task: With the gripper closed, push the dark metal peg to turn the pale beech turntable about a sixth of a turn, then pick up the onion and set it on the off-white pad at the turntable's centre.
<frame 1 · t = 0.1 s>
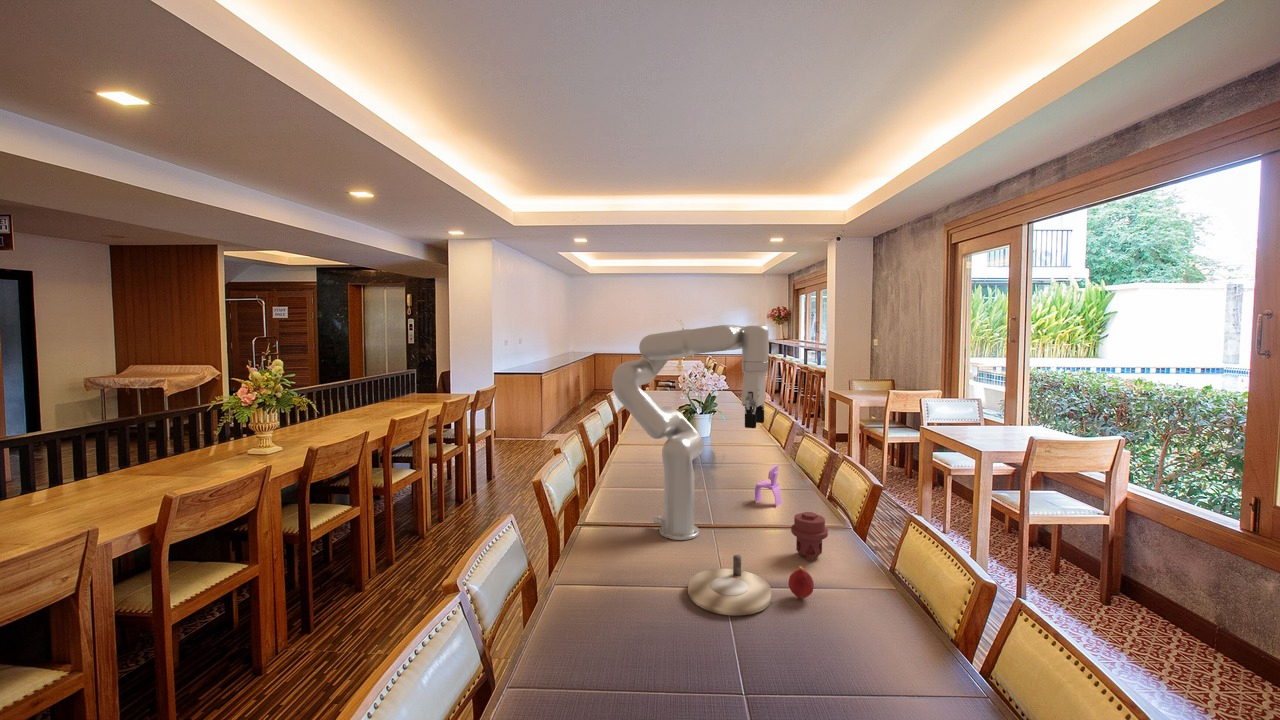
hand: (754, 425, 157), 37 cm above the table, tool pointing down, fingers open, 9 cm apart
turntable: (729, 580, 130), point 4 cm above the table, hinge at 0.0°
toy chair: (768, 503, 199), on the table
onion: (800, 599, 128), on the table
mechanical component: (808, 556, 152), on the table
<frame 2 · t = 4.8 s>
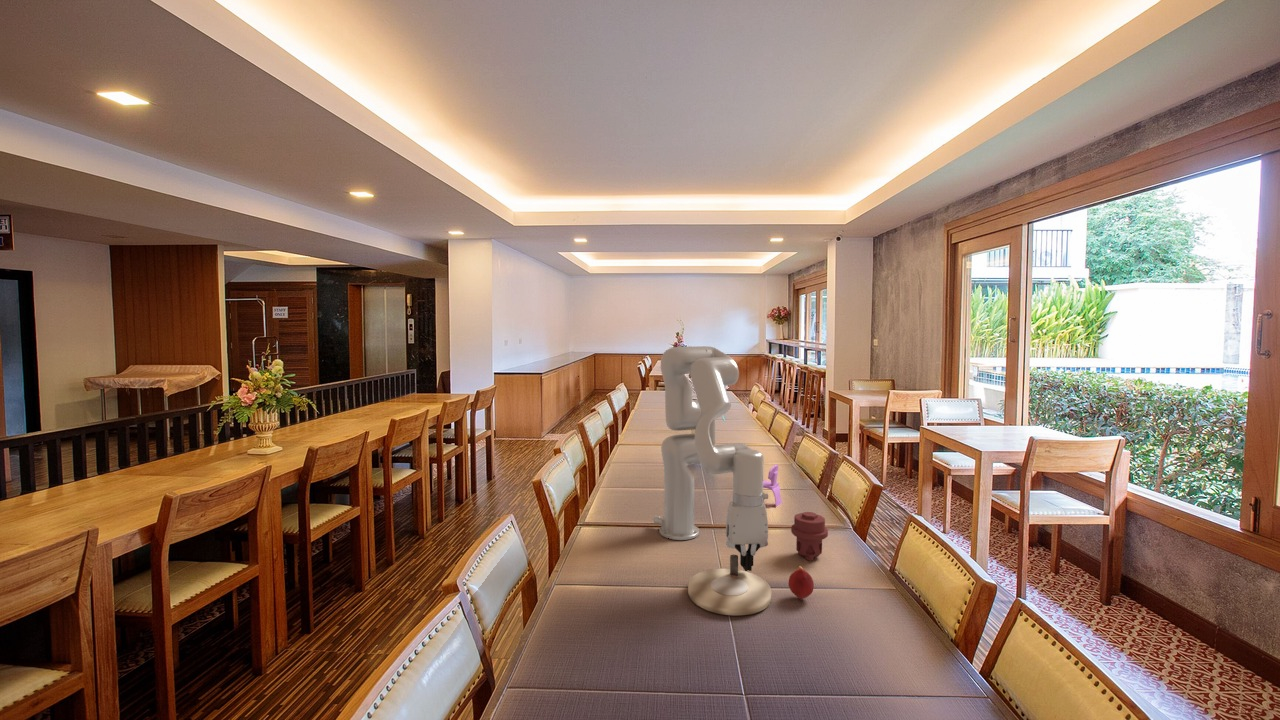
hand: (746, 568, 137), 4 cm above the table, tool pointing down, fingers closed
turntable: (729, 580, 130), point 4 cm above the table, hinge at 6.7°, touching gripper
everything else where it was.
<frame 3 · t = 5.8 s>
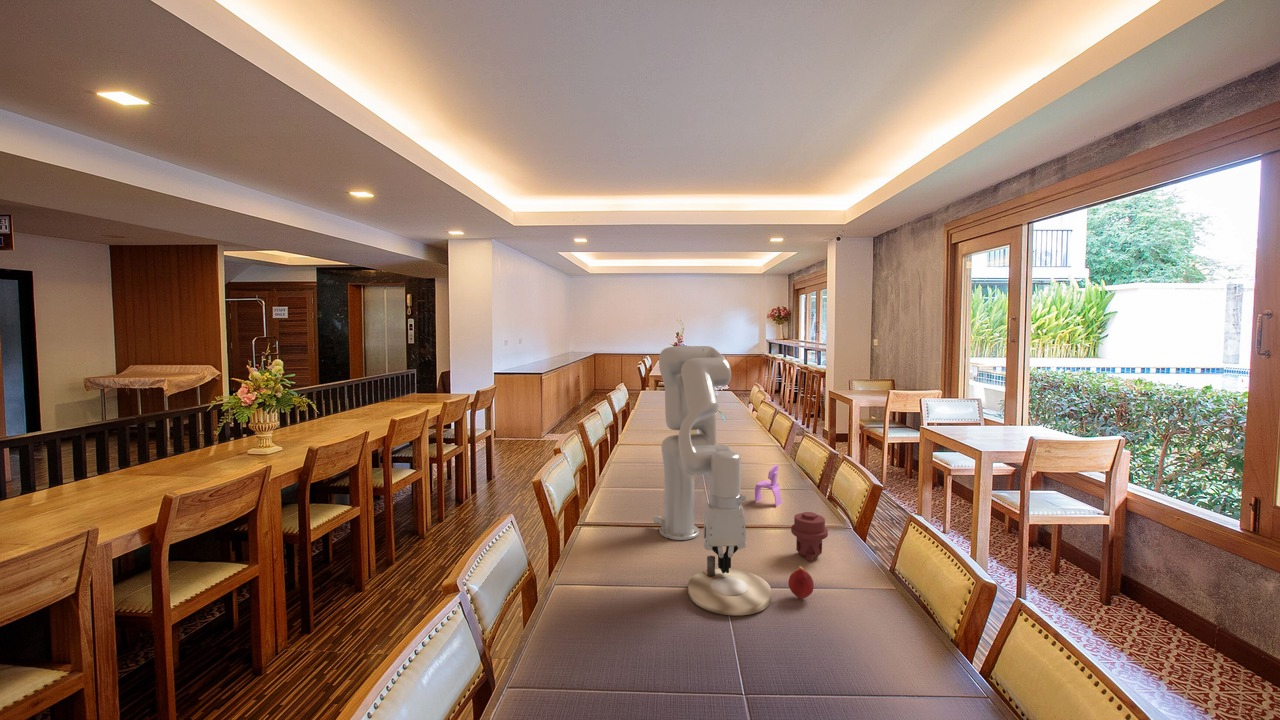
hand: (724, 570, 136), 3 cm above the table, tool pointing down, fingers closed
turntable: (729, 580, 130), point 4 cm above the table, hinge at 57.6°, touching gripper
everything else where it was.
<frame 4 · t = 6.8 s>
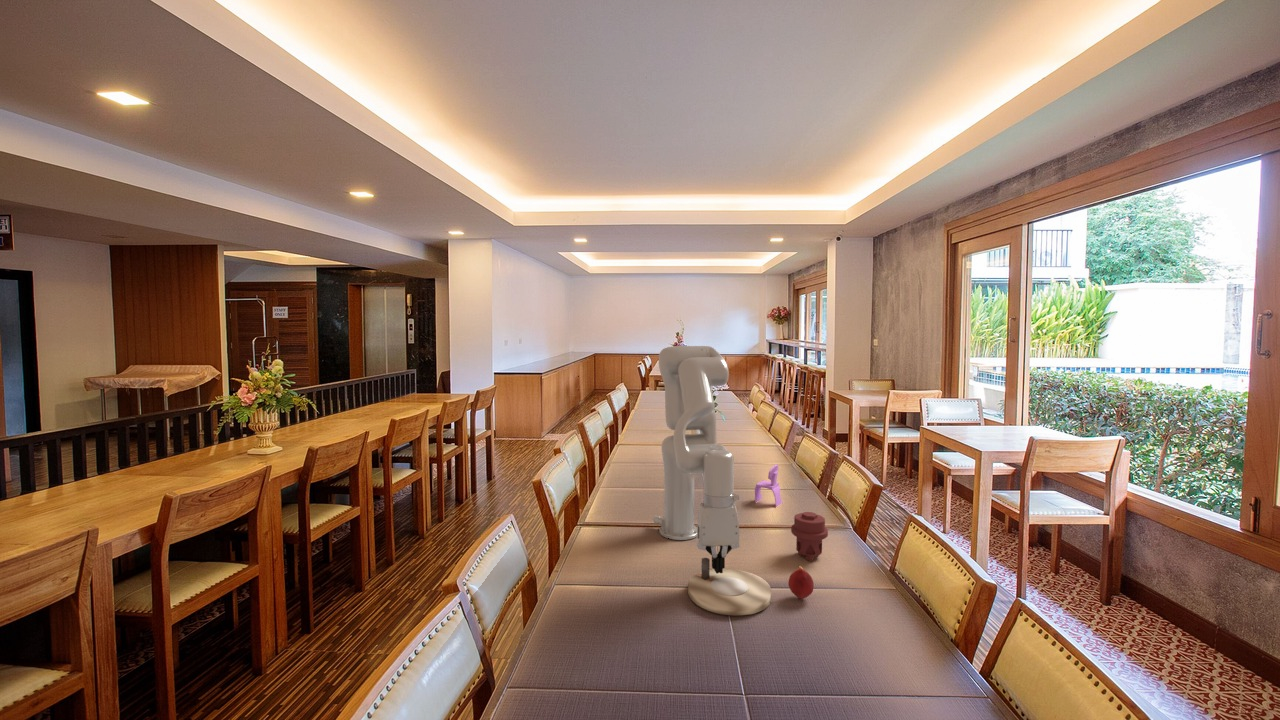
hand: (718, 570, 135), 4 cm above the table, tool pointing down, fingers closed
turntable: (729, 580, 130), point 4 cm above the table, hinge at 74.5°, touching gripper
everything else where it was.
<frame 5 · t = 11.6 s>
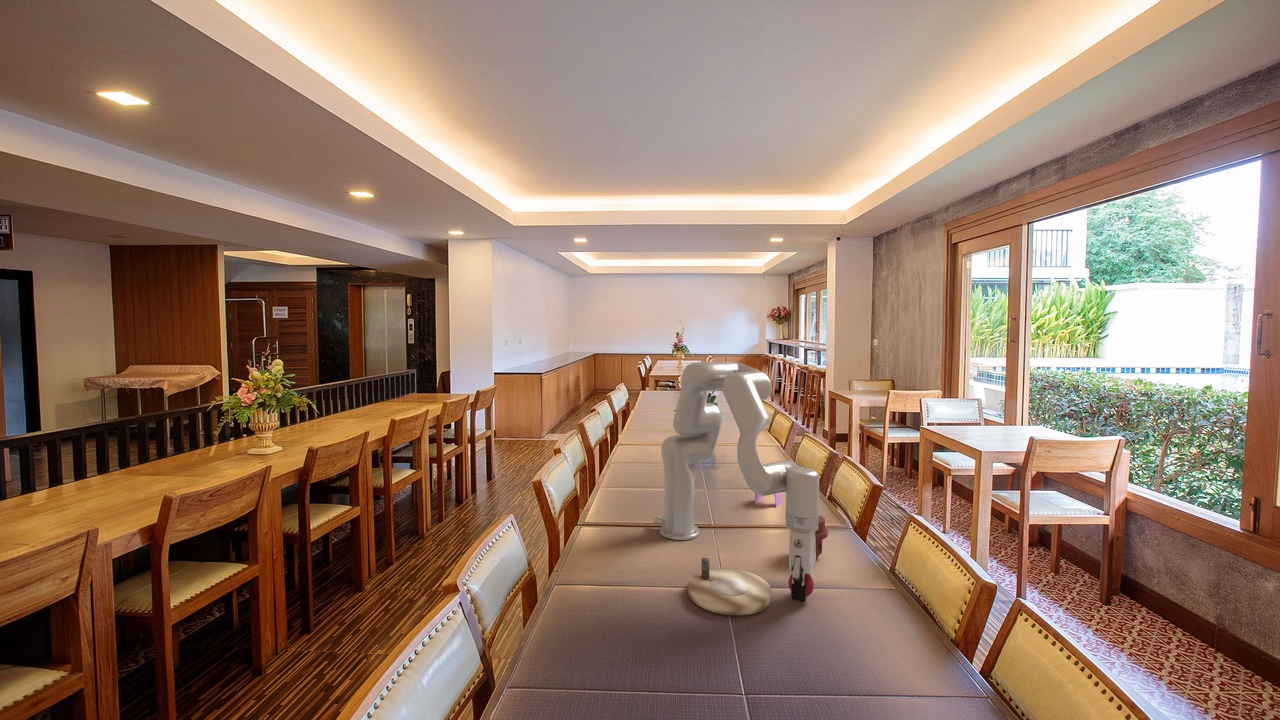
hand: (800, 593, 128), 1 cm above the table, tool pointing down, fingers closed on onion, 5 cm apart
turntable: (729, 580, 130), point 4 cm above the table, hinge at 74.6°
onion: (800, 599, 128), on the table, touching gripper
everything else where it was.
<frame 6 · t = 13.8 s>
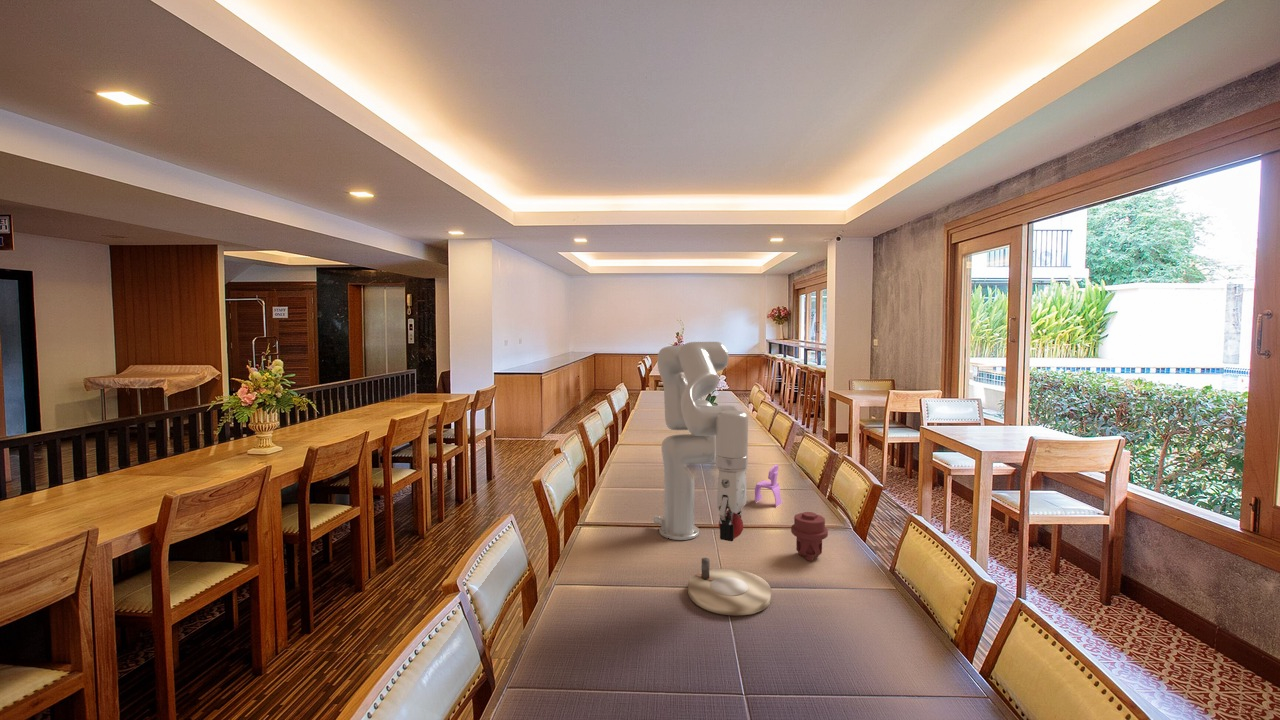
hand: (730, 534, 129), 15 cm above the table, tool pointing down, fingers closed on onion, 5 cm apart
onion: (730, 540, 129), point 14 cm above the table, touching gripper
everything else where it was.
when the fingers open (5 cm above the table, at t = 16.2 s): onion stays where it is, resting on turntable.
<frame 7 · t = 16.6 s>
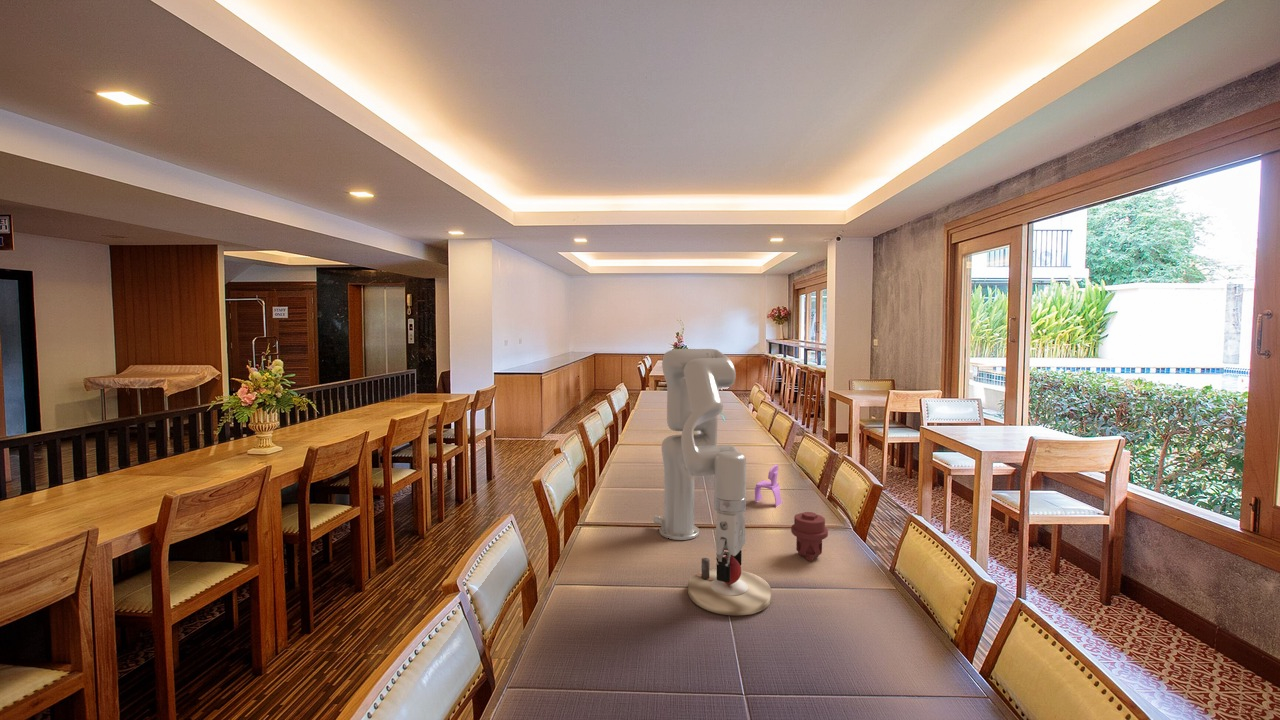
hand: (729, 572, 130), 6 cm above the table, tool pointing down, fingers open, 9 cm apart
turntable: (729, 580, 130), point 4 cm above the table, hinge at 74.6°, touching onion
onion: (729, 585, 130), point 2 cm above the table, touching turntable
everything else where it was.
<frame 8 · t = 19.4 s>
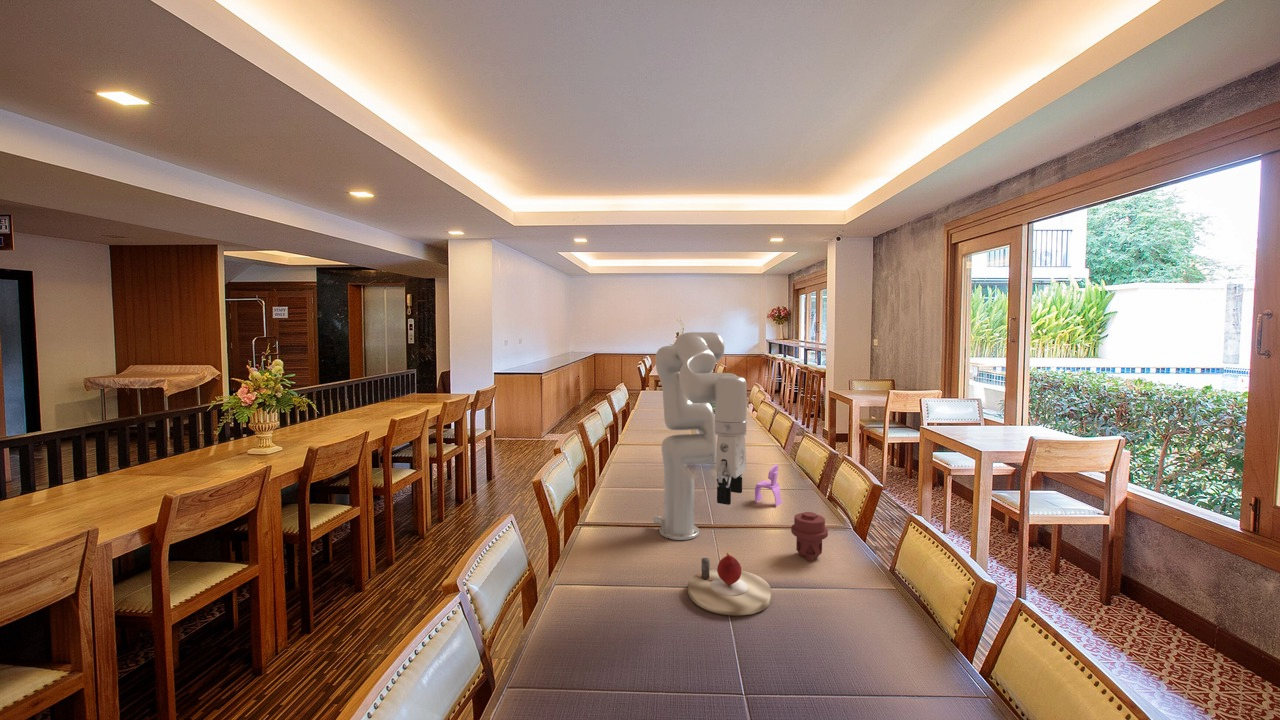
hand: (729, 497, 129), 24 cm above the table, tool pointing down, fingers open, 9 cm apart
nothing on the table moved.
at the end: turntable at +75° (first picture: +0°); onion 0.3 cm from the turntable (horizontally); onion point 2.3 cm above the table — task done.
